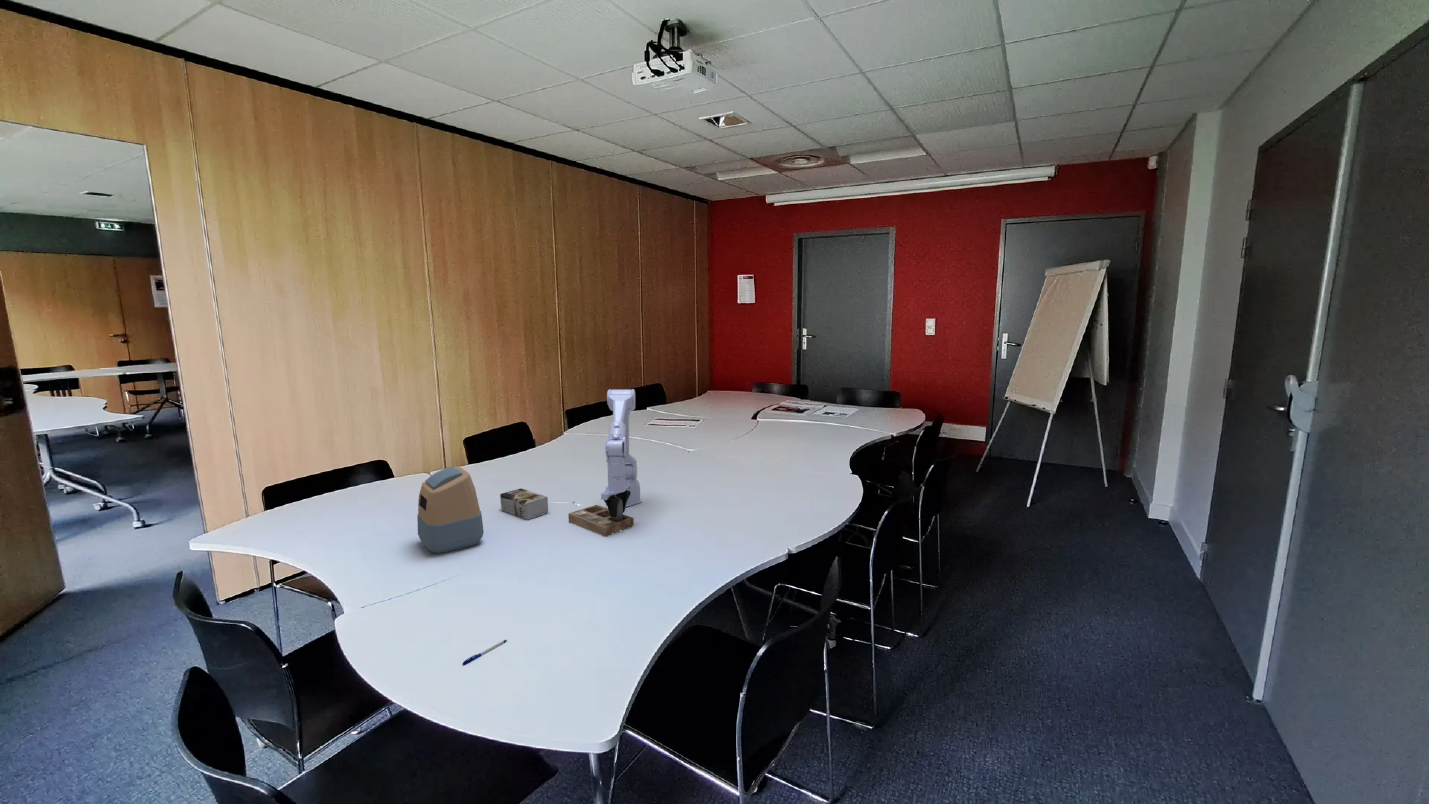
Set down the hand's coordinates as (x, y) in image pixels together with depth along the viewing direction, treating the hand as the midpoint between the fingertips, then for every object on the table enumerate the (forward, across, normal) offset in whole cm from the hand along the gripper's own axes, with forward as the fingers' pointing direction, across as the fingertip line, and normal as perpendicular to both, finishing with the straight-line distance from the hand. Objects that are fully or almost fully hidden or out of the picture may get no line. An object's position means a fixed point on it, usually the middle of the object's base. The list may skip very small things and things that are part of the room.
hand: (617, 514), depth 192 cm
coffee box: (+1, +5, -31) cm, 31 cm away
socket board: (+4, 0, -7) cm, 8 cm away
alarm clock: (+5, +35, -38) cm, 52 cm away
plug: (+2, 0, 0) cm, 2 cm away
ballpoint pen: (+5, +71, +17) cm, 74 cm away
